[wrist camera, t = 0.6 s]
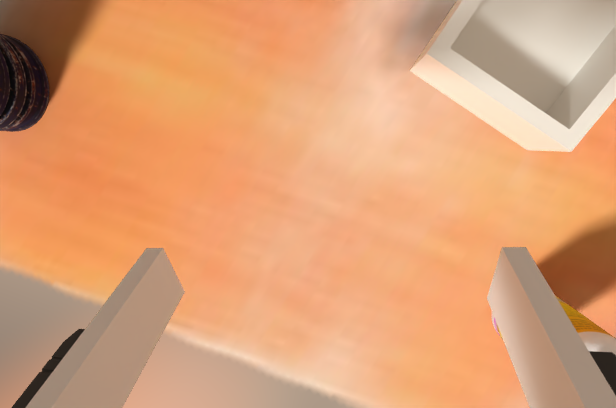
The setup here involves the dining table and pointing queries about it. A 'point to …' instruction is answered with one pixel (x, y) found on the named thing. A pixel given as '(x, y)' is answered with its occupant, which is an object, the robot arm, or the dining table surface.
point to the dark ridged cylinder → (21, 86)
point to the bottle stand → (527, 66)
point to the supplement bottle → (584, 331)
